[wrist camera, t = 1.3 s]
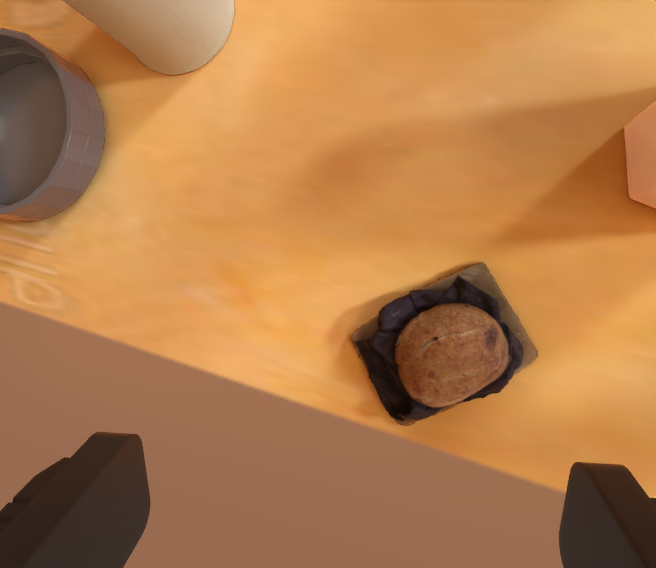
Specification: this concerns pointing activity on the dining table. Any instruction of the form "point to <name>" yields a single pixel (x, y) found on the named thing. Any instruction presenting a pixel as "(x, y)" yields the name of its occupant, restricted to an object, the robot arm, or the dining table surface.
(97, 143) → the pan
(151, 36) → the can
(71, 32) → the dining table surface
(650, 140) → the jar
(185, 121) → the dining table surface
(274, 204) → the dining table surface
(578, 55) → the dining table surface
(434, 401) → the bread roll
